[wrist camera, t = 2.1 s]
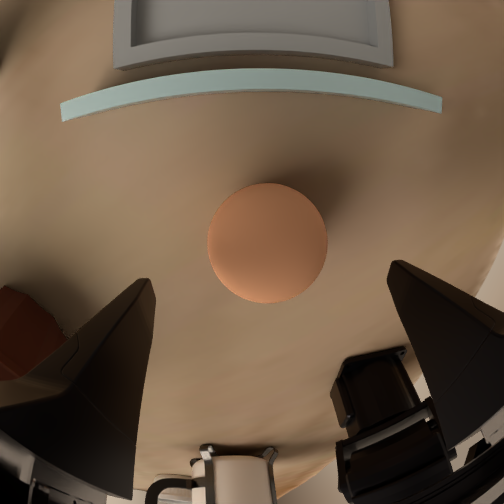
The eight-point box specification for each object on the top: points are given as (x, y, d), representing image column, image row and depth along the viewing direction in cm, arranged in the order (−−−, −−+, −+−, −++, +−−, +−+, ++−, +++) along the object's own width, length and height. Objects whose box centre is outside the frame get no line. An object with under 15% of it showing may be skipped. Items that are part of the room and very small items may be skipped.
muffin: (45, 271, 14) (-26, 392, 6) (103, 373, 20) (80, 472, 11) (-33, 276, 14) (-86, 352, 5) (20, 359, 19) (-9, 432, 11)
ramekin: (139, 471, 43) (138, 496, 37) (182, 471, 41) (182, 500, 35) (176, 483, 49) (176, 504, 44) (218, 481, 47) (219, 505, 41)
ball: (312, 168, 13) (355, 208, 8) (306, 257, 15) (333, 321, 11) (206, 173, 12) (194, 216, 8) (215, 263, 15) (212, 332, 11)
